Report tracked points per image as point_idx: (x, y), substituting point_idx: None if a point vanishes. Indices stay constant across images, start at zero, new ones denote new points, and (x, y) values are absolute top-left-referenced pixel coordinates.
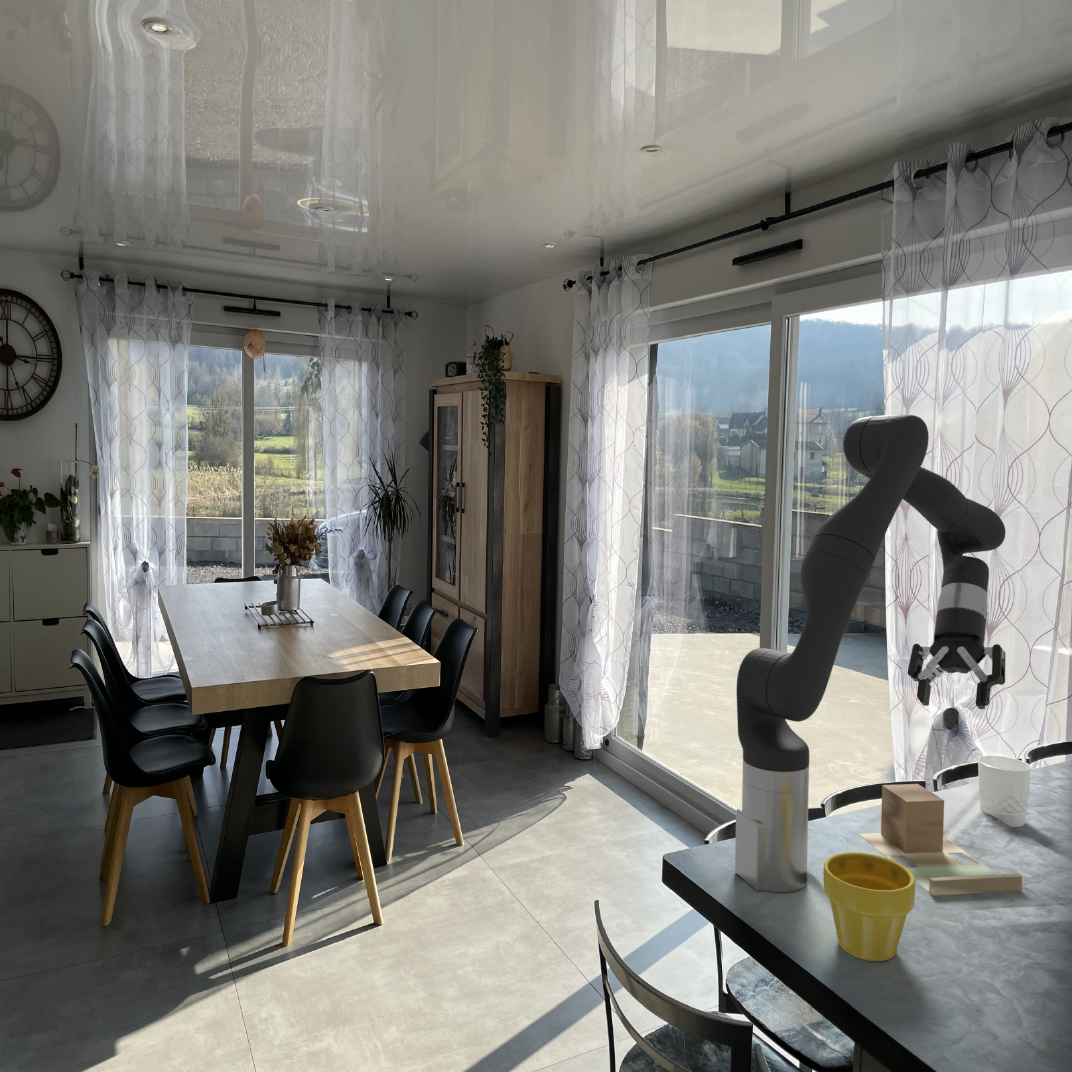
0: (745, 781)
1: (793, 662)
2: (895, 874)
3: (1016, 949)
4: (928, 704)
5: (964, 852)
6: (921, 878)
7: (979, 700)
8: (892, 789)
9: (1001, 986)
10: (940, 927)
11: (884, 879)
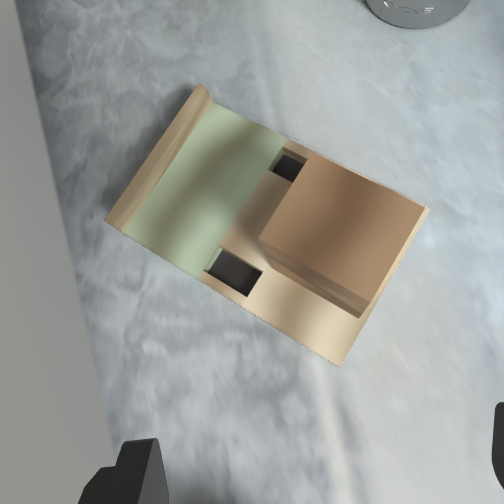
0: None
1: None
2: None
3: (87, 96)
4: (497, 472)
5: (243, 302)
6: (243, 134)
7: (126, 455)
8: (386, 199)
9: (76, 11)
10: (175, 66)
11: None
